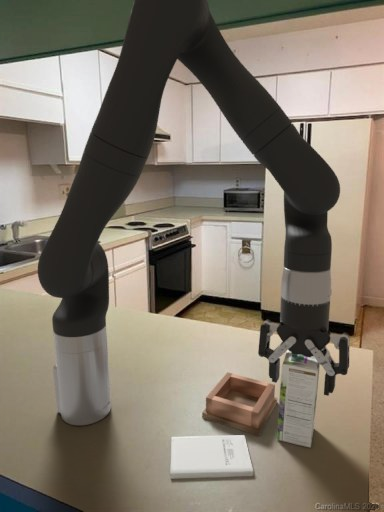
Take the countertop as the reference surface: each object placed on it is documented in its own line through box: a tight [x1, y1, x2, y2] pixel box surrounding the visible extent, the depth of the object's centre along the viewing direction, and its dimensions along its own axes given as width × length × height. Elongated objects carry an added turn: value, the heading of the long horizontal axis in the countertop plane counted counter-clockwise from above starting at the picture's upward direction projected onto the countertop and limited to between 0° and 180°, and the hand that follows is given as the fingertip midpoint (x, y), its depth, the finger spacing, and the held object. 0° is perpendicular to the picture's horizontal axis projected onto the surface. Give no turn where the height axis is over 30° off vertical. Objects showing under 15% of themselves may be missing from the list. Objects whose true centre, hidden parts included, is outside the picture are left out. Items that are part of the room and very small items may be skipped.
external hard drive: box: [169, 434, 254, 479], centre depth 62 cm, size 2×8×12 cm
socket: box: [201, 371, 278, 437], centre depth 73 cm, size 11×11×4 cm
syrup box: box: [276, 350, 321, 448], centre depth 65 cm, size 6×6×14 cm
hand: (300, 386), depth 65 cm, fingers open, 8 cm apart
